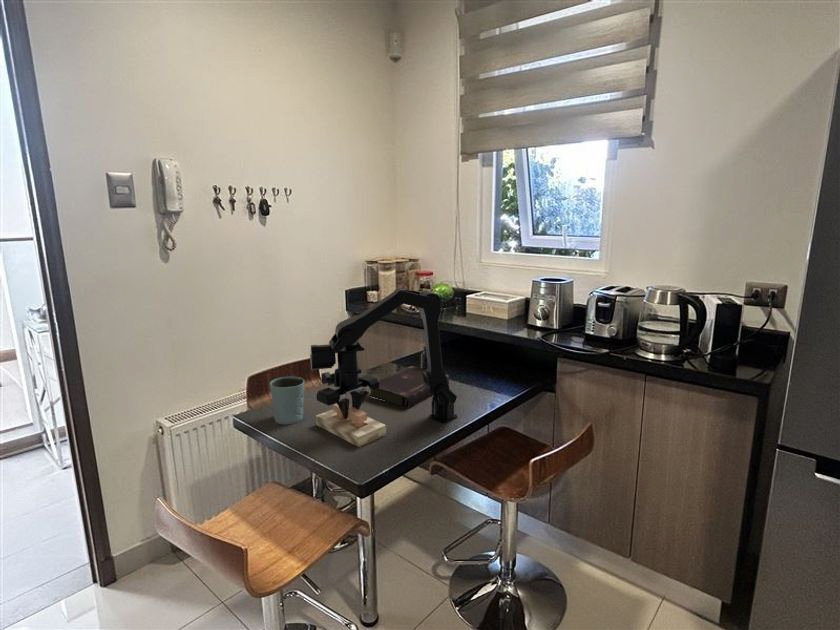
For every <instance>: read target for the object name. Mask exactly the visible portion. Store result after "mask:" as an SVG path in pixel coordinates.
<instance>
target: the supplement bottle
mask: <svg viewBox="0 0 840 630" xmlns="http://www.w3.org/2000/svg"><path fill="white" fill-rule="evenodd" d="M422 350H423V352H422V353H421V354H420V368H423V369H427V367H428V363H427V353H426V344H425V345H424V346H423V349H422Z"/></svg>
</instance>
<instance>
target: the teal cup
mask: <svg viewBox="0 0 840 630" xmlns="http://www.w3.org/2000/svg"><path fill="white" fill-rule="evenodd" d="M305 382H306V381H305V379H303V378H302V377H299V376H281V377H277V378H274V379H272V380H271V381H270V382H269V388H270V394H271V401H272V402H271V403H272V407H273V410H272V411H273V416H274V417H273V418H274V422H275V423H277V424H278V425H279V424H280V425H292V424H296V423H298V422H300V421H302V420H303V418H304V395H305Z"/></svg>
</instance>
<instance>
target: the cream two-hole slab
mask: <svg viewBox="0 0 840 630" xmlns="http://www.w3.org/2000/svg"><path fill="white" fill-rule="evenodd" d="M315 418H316V419H315V421H316V425H317V427H320V428H322V429H324V430H326V431H327V432H329V433H331V434H333V435H335V436H337V437H339V438H341V439H342V440H345V441H346V442H348V443H350V444H352V445H354V446H356V447H357V448H361V447H362V446H364V445H367V444H369V443H371V442H374V441H376V440H378V439H381V438H382V437H384V436H387V425H386V424H384V423H382V422H380V421H378V420H375V419H374V418H371V417H370V416H367V420H366V421H364V426H363V427H361V428H359V429H357V428H355V427H354V421H353V420H351V419H349V418H347V419H343V420H339V419H337V413H336V412H334V411H333V409H331V410H327V411H325V412H322V413H319V414H317V415H315Z"/></svg>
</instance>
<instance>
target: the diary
mask: <svg viewBox="0 0 840 630" xmlns="http://www.w3.org/2000/svg"><path fill="white" fill-rule="evenodd" d="M426 371H427V369H423V368H421V367H417V366H412V365H411V366H408V367H406V368H403V369H401V370H399V371H397V372H395V373H392V374H391V375H388V376H384V377H382V378H377V379H378V380H379V388H377V389H374V390H371V389H370V395H371V396H372V397H375V398H378V399H382V400H385V401H387V402H388V401H389V402H388V403H391V402H392V403H391V404H395V405H398V404H399V406H404V407H406V406H407V407H406V409H407V408H408V409H410V408H412V407H413V406H415V405H417V404H418V403H419V402H421V400H422V401H424V400H425V399H427V398H429V397H431V396H433V395H432V394H431V393H430V392H429V390H428V389H427V388H426V387H425V385H424V384H423V375H422V372H426ZM446 377H447V380H448V384H449V385H450V375H449V374H446ZM423 399H424V400H423ZM414 404H415V405H414ZM409 407H410V408H409Z"/></svg>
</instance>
